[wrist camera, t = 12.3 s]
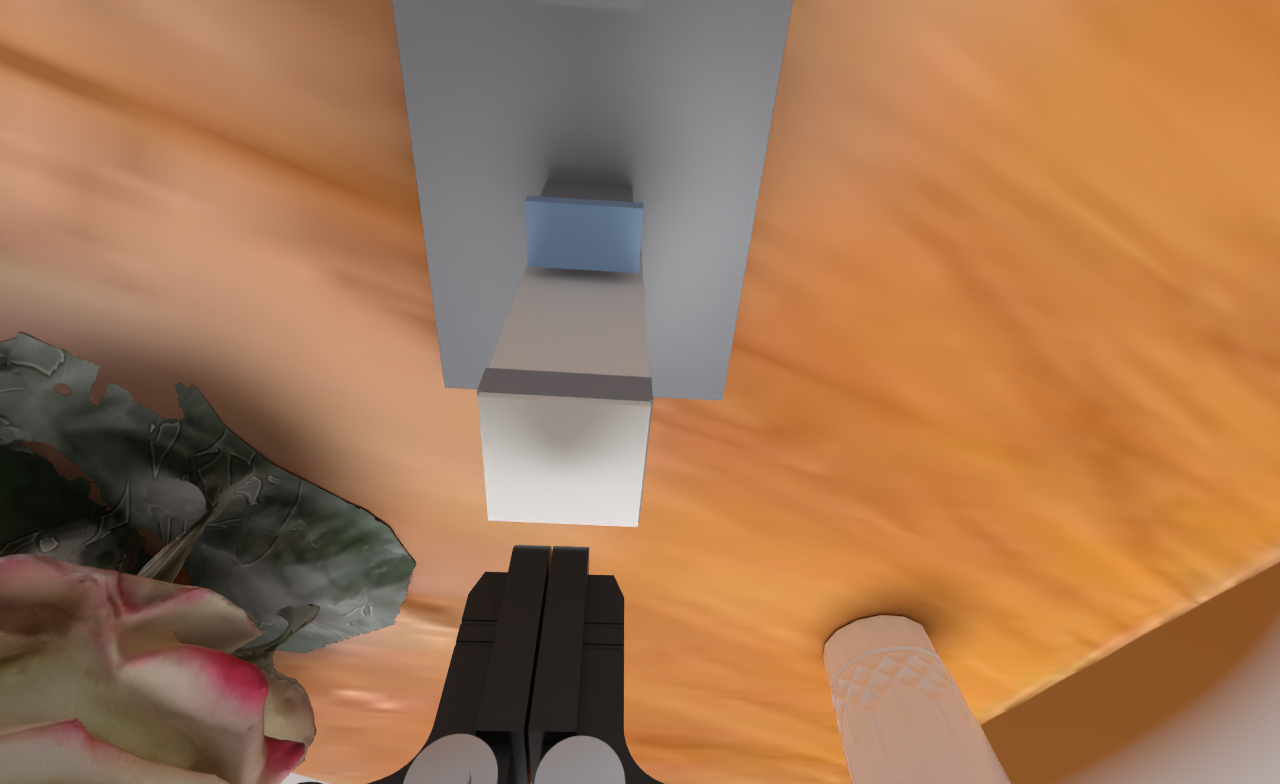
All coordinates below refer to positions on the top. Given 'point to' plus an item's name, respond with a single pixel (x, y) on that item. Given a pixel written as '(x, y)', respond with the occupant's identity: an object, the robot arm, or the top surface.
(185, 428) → the rose bouquet
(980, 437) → the top surface
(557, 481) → the plug
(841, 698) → the white cup
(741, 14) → the mounting plate with blocks
